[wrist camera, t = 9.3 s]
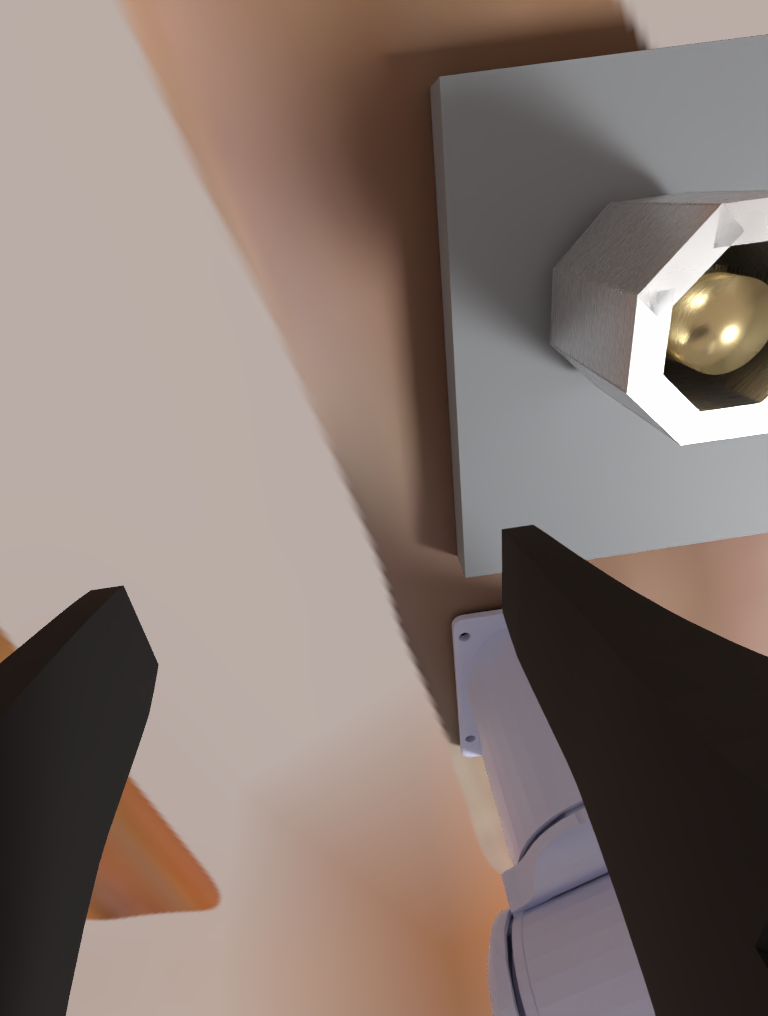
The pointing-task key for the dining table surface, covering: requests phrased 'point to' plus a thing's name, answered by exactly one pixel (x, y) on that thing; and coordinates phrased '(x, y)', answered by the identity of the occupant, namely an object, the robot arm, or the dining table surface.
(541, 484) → the post board
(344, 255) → the dining table surface
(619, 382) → the steel collar
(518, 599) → the robot arm
